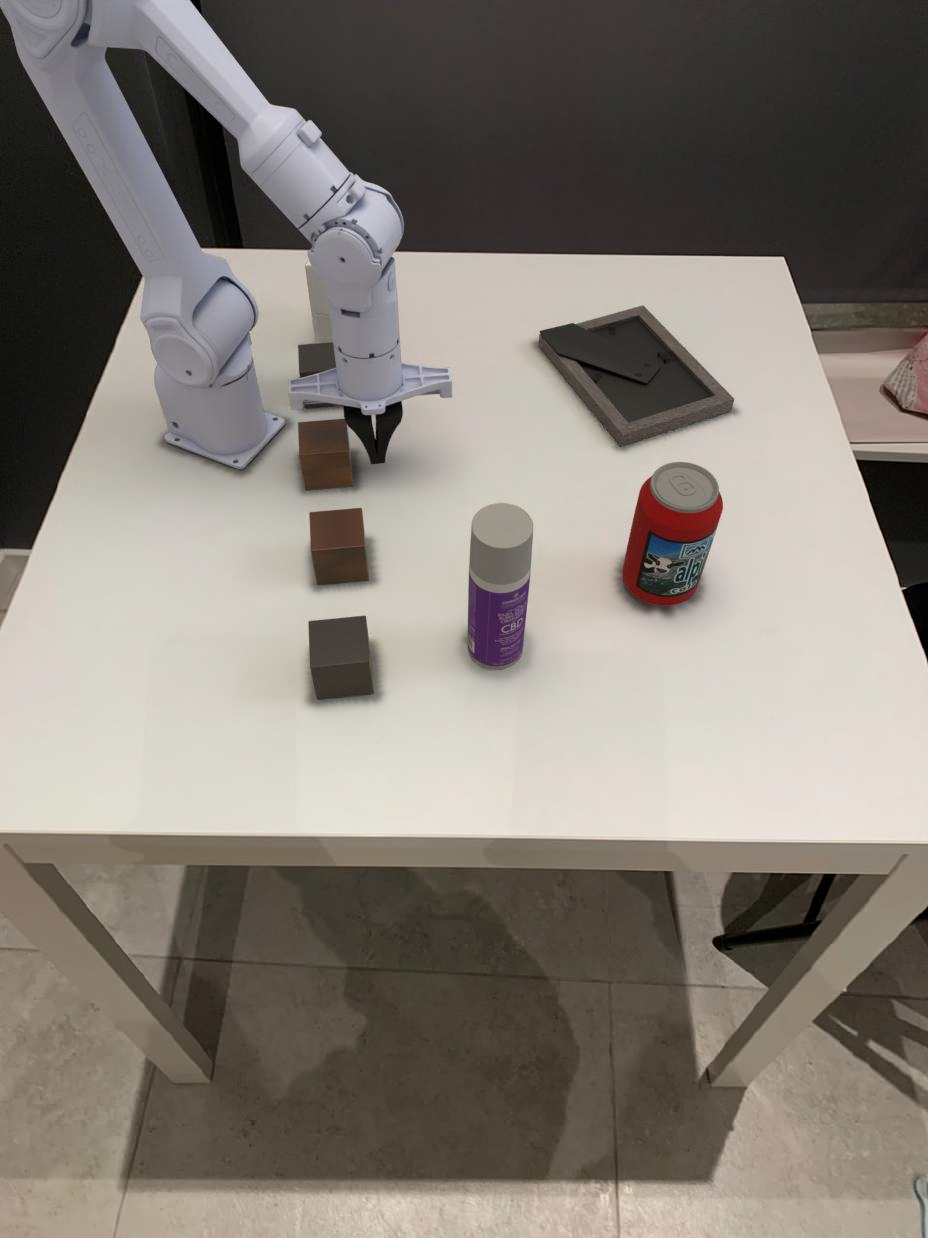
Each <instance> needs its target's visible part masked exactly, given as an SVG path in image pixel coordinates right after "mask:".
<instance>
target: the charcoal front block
mask: <svg viewBox="0 0 928 1238" xmlns="http://www.w3.org/2000/svg"><path fill="white" fill-rule="evenodd" d="M367 621H368V620H367V616H366V615H356V616H345V617H335V618H326V619H325V618H324V619H316V620H308V622H307V624H308V650H309V651H308V652H309V670H310V673H311V679H312V684H313V688H314V692H315V696H316V699H317V700H327V699H337V698H346V697H355V696H364V695H366V696H367V695H373V694H374V693H375V691H374V690H375V689H374V680H373V667H372V657H371V645H370V637H369V629H368V622H367Z"/></svg>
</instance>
